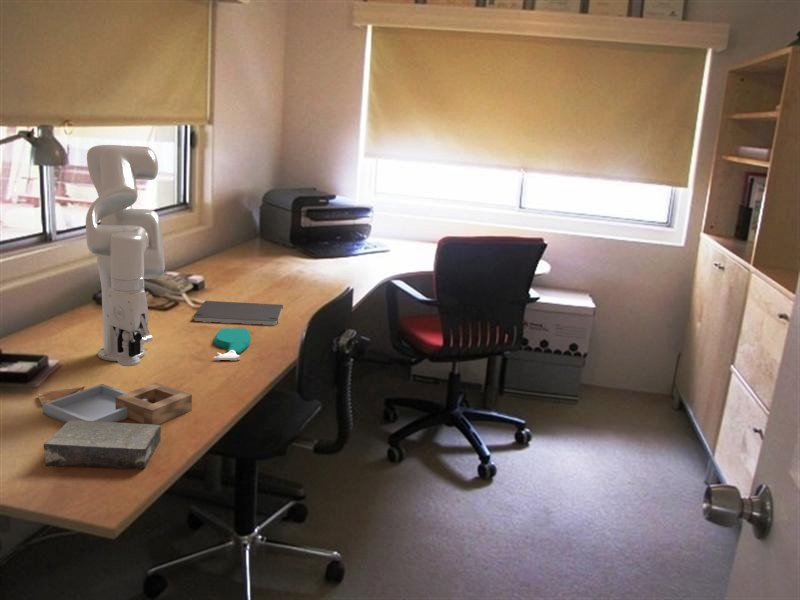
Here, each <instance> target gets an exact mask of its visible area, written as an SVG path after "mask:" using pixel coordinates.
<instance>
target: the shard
mask: <svg viewBox="0 0 800 600" xmlns="http://www.w3.org/2000/svg"><path fill="white" fill-rule="evenodd" d="M85 389H86V386H79V387H74V388H64V389H57V390H51V391H45V392H44V391H43V392H40V393H38V395H37V397H38V400H39V401H40V404H41V406H42V407H43V404H44V403H47V402H50V401H53V400H56V399H59V398H62V397H65V396H67V395H70V394H73V393H76V392H79V391H82V390H85Z"/></svg>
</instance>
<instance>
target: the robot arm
mask: <svg viewBox="0 0 800 600" xmlns="http://www.w3.org/2000/svg"><path fill="white" fill-rule="evenodd" d="M86 166H87V168H88V169H87V170H88V173H89V177H90V179H91V181H92V184H93V187H94V188H95V191H96V192H97V193H96V194H97V195H98V197H97V198H96V199H95V200H94V201H93V202H92V204H91V205H90V207H89V208H88V210H87V213H86V216H85V234H86V235H85V236H86V246H87V248H88V251H89V252H90V253H91V254H92V255H93V256H96V261H97V268H98V273H99V278H100V279H99V281H100V283H101V284H100V285H101V286H100V287H101V307H102V308H101V309H102V311H101V312H102V333H103V334H102V335H103V336H102V337H103V347H101V348H99V349H98V350H97V357H99V358H100V359H102V360H105V361H109V362H110V361H111V362H118V359H119V358H121V357H122V356H124V350H123V347H122V345H123V344H122V341H123V338H122V333H123V332H124V331H128V332H129V333H130V342H129V343H128V345H129V356H130V357H133V356H137V357H138V358H140V359H141V358H142V357H143V356H145V354H146V348H145V347H144V344H148V343H151V342H152V341H153V339H154V338H153V336H152V335H150V330H149V328H148V327H149V326H148V325H149V310H148V309H149V308H148V300H147V293H146V290H145V279H146V280H149V279H158V278H161V277H162V276H163V275H164V272H165V269H166V268H165V267H166V265H165V264H166V263H165V262H166V261H165V251H164V250H165V249H164V241H163V232H162V230H163V229H162V221H161V218H160V216H159V214H158V212H156V211H155V210H152V209H147V208H146V209H145V208H141V209H140V208H133V207H132V205H134V204H135V203H136V201H137V199H138V189H137V188H138V187H137V186H138V185H137V181H136V180H139V181H152V180H155V179H156V178H157V175H158V174H159V173H158V172H159V162H158V158H157V155H156V153H155V151H154V149H153V148H152V147H149V146H143V145H142V146H140V145H138V146H137V145H121V144H116V145H115V144H100V145H99V144H98V145H94V146H92V147H90V148H89V149H88V150H87V153H86ZM99 222H100V224H98V223H99ZM134 332H135V333H136V335H135V333H134Z"/></svg>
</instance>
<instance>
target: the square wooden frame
mask: <svg viewBox="0 0 800 600" xmlns="http://www.w3.org/2000/svg"><path fill="white" fill-rule="evenodd" d="M192 397H193V394H192V393H189V392H185V391H182V390H179V389H176V388H173V387H170V386H168V385H164V384H161V383H157V382H153V383H151V384H148V385H145V386H142V387H140V388H137V389H134V390H132V391H130V392H127V393H126V394H123V395H120V396H118V397H115V404H116V410H117V409H120V408H122V407H127V408H128V418H127V419H129V420H132V421H135V422H138V423H139V424H154V425H161V424H162V423H165V422H167V421H170V420H172V419H174V418H176V417H179V416H182V415H183V414H186V413H189V412H191V411H192V410H193V398H192ZM142 399H147V400H148V402H147V401H144V400H142Z"/></svg>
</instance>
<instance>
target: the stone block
mask: <svg viewBox="0 0 800 600" xmlns="http://www.w3.org/2000/svg"><path fill="white" fill-rule="evenodd" d="M161 435H162V425H161V424H158V425H154V424H143V423H134V422H132V423H131V422H120V421H119V422H102V421H85V420H69V421H68V422H67V423H64V425H62V427H61V428H59V430H58V431H56V433H54V435H52V436H51V437H50V438H49V439H47V440H46V441H45V442H44V444H43V446H42V447H43V450H44V452H45V453H44V454H45V455H44V457H45V458H44V459H45V467H50V466H53V468H54V467H55V466H56V468H91V469H92V468H93V469H112V468H113V469H114V470H144V469H145V468H146V467H147V465H148V463H149V462H150V460H151V458H152V457H153V455H154V453H155V451H156V449H157V448H158V446H159V443H161V440H162V439H161Z"/></svg>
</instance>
